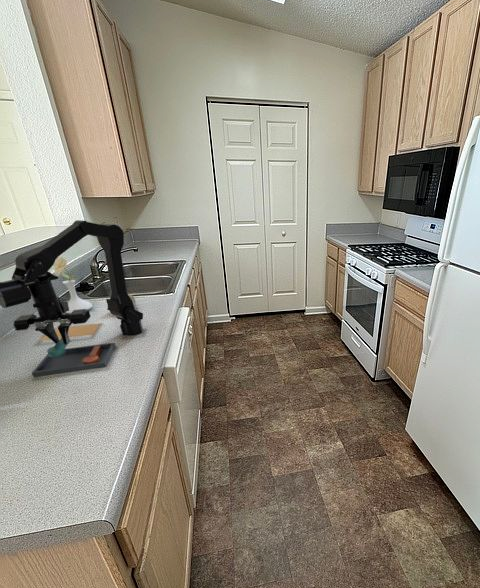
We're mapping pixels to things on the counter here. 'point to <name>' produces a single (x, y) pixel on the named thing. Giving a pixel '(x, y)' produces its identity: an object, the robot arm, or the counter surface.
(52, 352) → the teal spoon
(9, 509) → the counter surface
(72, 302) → the flower in vase
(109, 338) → the counter surface
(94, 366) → the tray
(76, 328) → the cork mat
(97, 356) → the terracotta spoon
